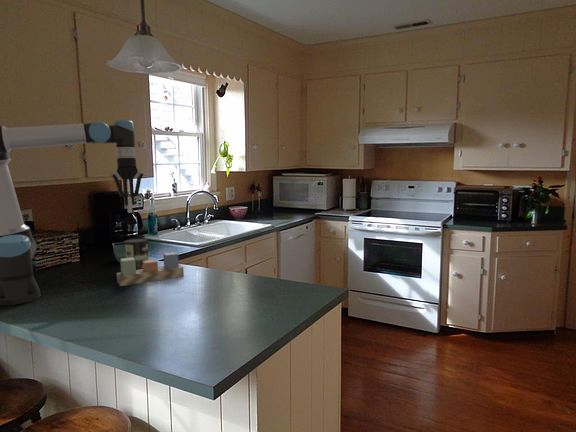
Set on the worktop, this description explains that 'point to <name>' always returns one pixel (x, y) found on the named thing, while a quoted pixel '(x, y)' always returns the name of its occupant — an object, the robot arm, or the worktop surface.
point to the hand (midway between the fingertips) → (130, 212)
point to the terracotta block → (150, 265)
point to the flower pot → (119, 250)
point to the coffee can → (137, 251)
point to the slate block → (171, 260)
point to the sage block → (128, 266)
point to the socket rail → (149, 276)
